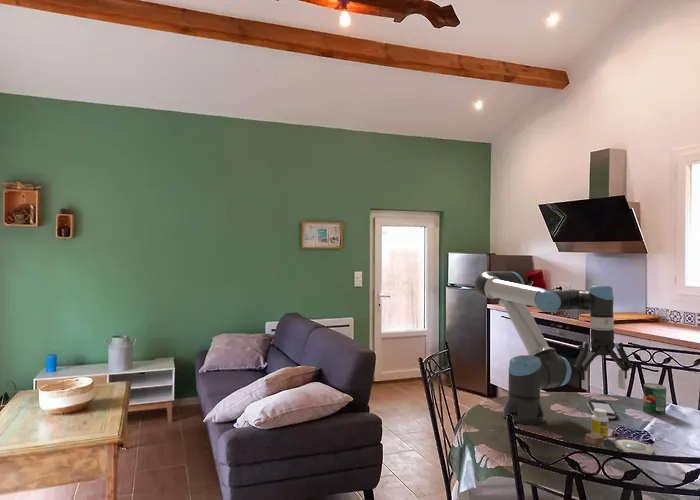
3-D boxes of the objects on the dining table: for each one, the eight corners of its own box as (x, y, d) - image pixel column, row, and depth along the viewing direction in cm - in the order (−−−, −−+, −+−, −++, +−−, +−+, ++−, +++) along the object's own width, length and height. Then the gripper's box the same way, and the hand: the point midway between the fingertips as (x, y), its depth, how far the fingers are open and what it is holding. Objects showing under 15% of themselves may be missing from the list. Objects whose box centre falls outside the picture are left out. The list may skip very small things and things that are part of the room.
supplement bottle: (601, 441, 169) (602, 413, 169) (587, 436, 174) (588, 408, 173) (611, 439, 171) (612, 411, 171) (597, 433, 176) (598, 406, 176)
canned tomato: (638, 411, 201) (639, 384, 201) (649, 408, 205) (650, 382, 205) (659, 417, 194) (659, 389, 194) (669, 414, 198) (670, 387, 198)
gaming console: (585, 404, 211) (585, 398, 211) (608, 406, 208) (608, 400, 208) (593, 419, 192) (594, 412, 192) (619, 422, 189) (619, 415, 189)
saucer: (623, 454, 159) (623, 451, 159) (609, 440, 170) (609, 438, 170) (660, 456, 158) (660, 453, 158) (643, 442, 169) (643, 440, 169)
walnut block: (593, 450, 162) (593, 438, 162) (584, 445, 166) (585, 433, 165) (603, 449, 163) (604, 437, 163) (594, 444, 166) (595, 433, 166)
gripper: (573, 330, 171) (574, 392, 170) (642, 329, 172) (644, 390, 172) (562, 327, 179) (564, 386, 178) (629, 327, 180) (630, 385, 179)
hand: (603, 388), depth 175 cm, fingers open, 13 cm apart
